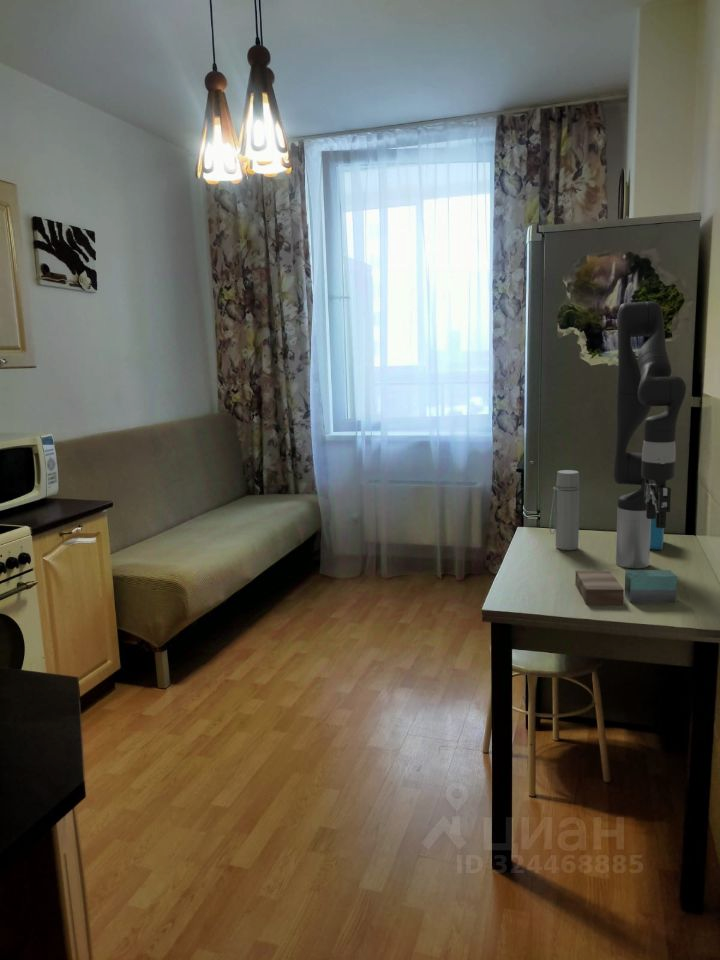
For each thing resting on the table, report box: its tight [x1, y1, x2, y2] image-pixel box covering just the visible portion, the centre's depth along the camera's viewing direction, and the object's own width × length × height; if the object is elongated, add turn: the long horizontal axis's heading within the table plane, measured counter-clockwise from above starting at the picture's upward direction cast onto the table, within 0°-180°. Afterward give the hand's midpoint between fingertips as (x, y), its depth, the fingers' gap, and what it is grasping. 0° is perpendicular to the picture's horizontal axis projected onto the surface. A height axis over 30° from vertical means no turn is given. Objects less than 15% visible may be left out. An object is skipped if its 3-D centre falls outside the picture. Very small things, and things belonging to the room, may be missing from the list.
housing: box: [624, 569, 678, 604], centre depth 173 cm, size 5×11×7 cm, turn 84°
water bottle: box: [548, 469, 581, 551], centre depth 218 cm, size 9×8×25 cm
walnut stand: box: [574, 570, 625, 606], centre depth 178 cm, size 15×9×4 cm, turn 172°
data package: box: [650, 518, 665, 551], centre depth 218 cm, size 12×4×12 cm, turn 155°
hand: (655, 523), depth 169 cm, fingers open, 8 cm apart
